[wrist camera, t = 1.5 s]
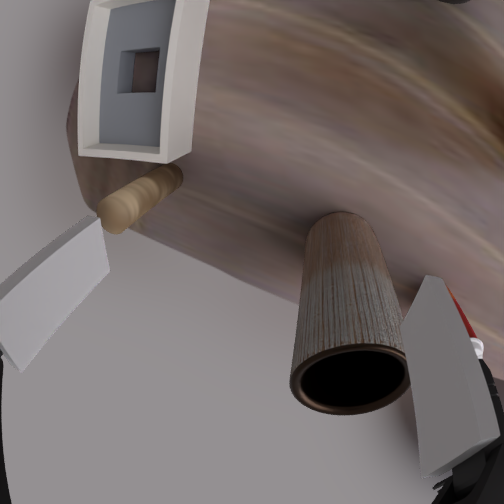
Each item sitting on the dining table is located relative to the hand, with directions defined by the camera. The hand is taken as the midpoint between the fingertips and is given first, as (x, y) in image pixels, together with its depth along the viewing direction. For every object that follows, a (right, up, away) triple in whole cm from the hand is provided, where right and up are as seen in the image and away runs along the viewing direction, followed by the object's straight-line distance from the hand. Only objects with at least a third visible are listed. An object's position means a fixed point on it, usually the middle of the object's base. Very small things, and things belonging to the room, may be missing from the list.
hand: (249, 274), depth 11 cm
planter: (+12, +2, +28) cm, 31 cm away
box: (-13, +25, +20) cm, 35 cm away
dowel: (-11, +11, +28) cm, 32 cm away
